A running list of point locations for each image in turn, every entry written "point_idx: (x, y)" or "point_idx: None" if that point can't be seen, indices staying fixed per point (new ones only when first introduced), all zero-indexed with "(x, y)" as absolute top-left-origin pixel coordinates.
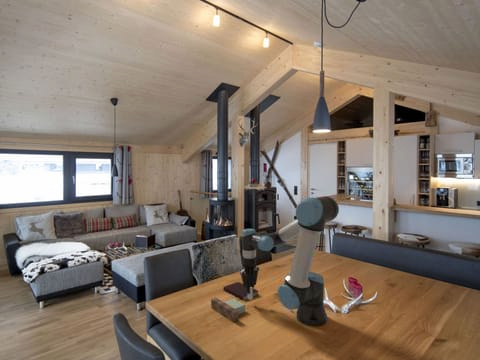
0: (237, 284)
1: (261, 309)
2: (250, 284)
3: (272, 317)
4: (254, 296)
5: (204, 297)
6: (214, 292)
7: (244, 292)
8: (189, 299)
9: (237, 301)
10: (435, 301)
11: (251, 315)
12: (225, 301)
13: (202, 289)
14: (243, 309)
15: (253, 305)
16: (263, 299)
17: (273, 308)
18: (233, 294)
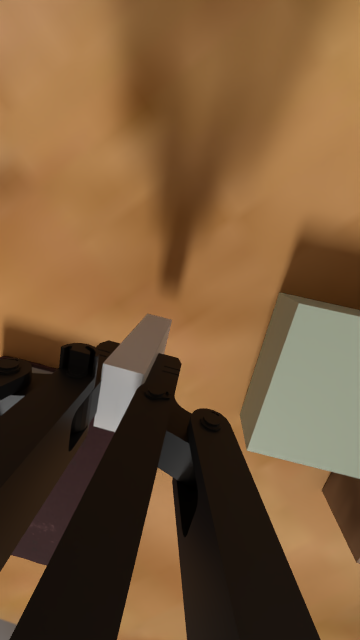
0: None
1: (175, 201)
2: (73, 429)
3: (246, 13)
4: (42, 365)
5: None
6: (166, 575)
7: None
8: (324, 632)
9: (277, 394)
10: None
11: (313, 209)
12: (332, 470)
13: (178, 633)
14: (305, 300)
15: (158, 294)
16: (31, 287)
17: (96, 122)
18: None
